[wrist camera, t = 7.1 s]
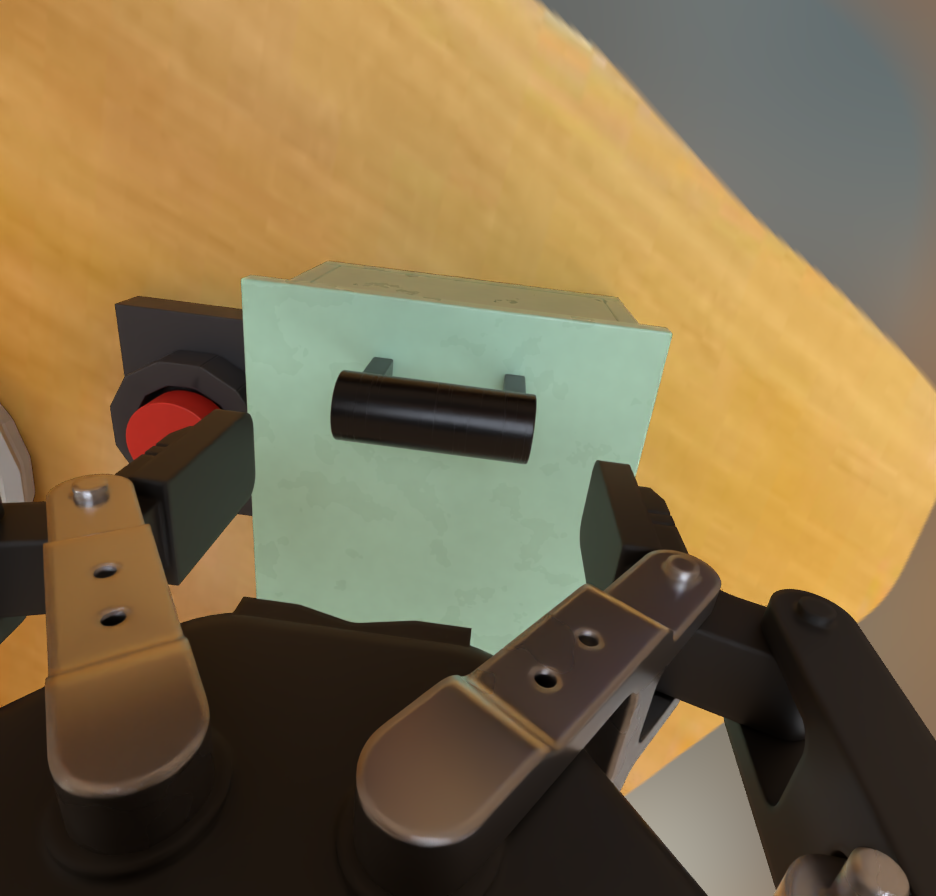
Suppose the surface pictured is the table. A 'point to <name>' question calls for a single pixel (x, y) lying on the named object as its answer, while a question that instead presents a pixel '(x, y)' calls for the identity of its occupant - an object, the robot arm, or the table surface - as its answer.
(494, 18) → the table surface
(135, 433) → the release button
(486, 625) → the green box lid
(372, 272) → the box wall
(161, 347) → the control block
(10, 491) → the shallow round dish
